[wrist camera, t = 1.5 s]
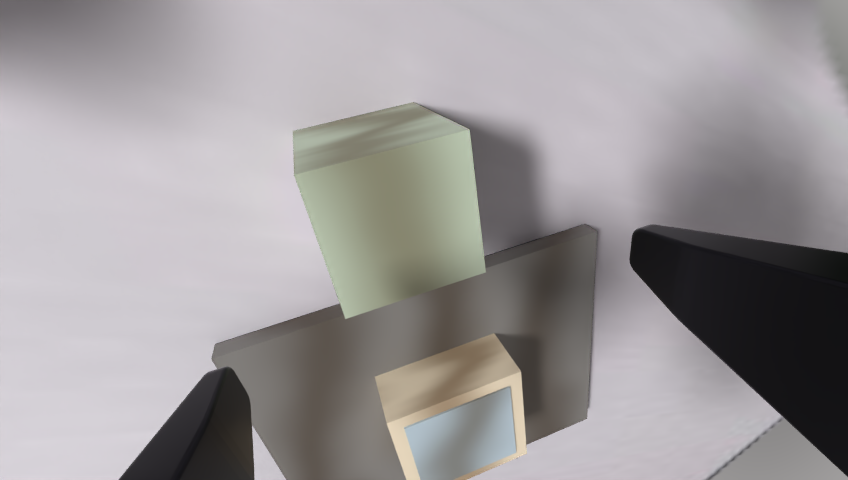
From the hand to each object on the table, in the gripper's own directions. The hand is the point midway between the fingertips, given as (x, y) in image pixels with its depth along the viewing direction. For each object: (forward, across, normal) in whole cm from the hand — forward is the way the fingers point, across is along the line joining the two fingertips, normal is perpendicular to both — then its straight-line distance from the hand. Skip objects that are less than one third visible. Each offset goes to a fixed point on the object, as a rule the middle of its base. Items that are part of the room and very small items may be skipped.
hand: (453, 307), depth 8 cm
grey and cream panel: (+10, -1, +14) cm, 17 cm away
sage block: (+10, 0, 0) cm, 10 cm away
